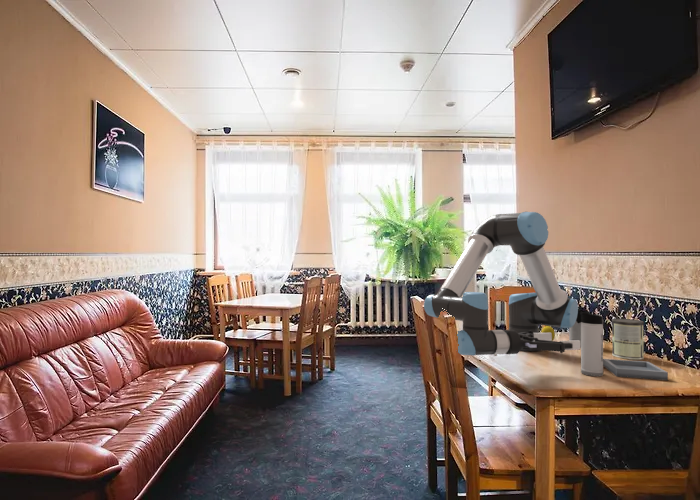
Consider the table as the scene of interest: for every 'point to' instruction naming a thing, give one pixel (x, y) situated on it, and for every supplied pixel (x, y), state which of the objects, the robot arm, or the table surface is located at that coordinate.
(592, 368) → the travel mug
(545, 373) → the table surface
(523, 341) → the robot arm
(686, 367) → the table surface
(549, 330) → the lemon
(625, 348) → the coffee can
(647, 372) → the tray
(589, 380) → the table surface
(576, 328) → the lidded pitcher
